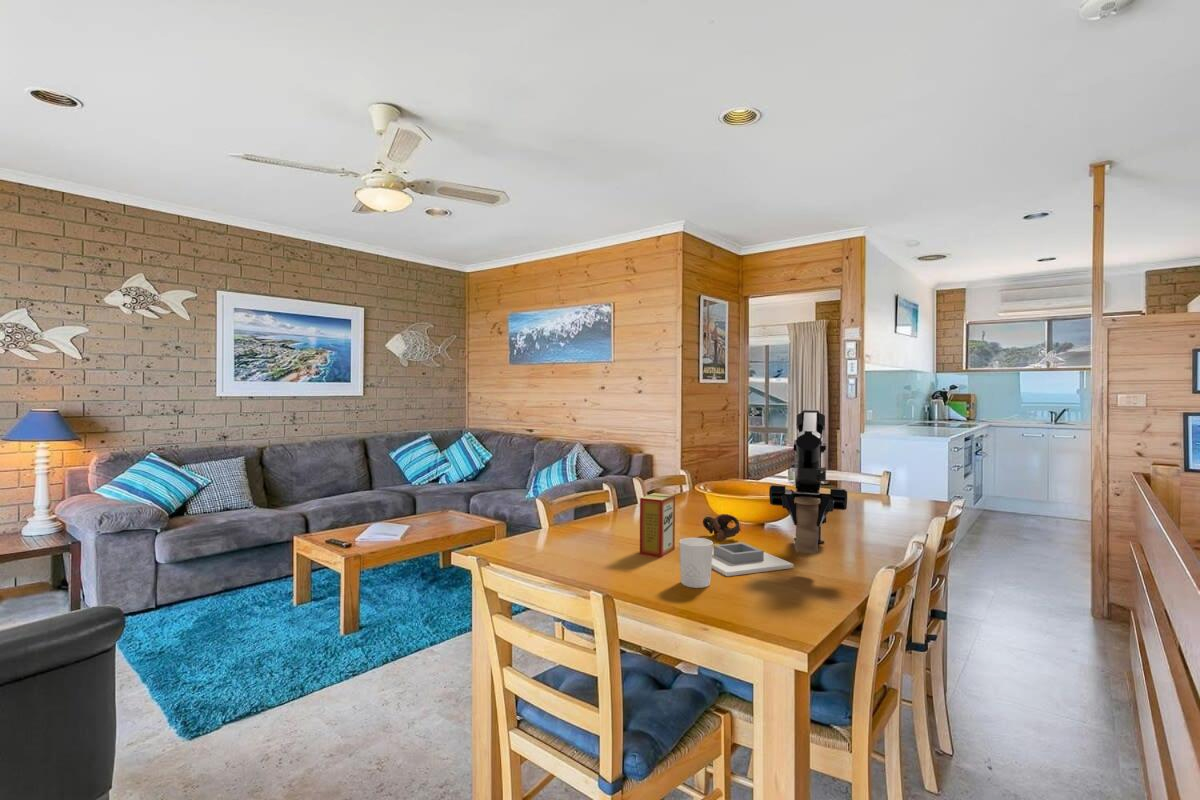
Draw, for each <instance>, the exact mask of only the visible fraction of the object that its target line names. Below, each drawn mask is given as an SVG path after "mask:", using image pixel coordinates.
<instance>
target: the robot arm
mask: <svg viewBox="0 0 1200 800" xmlns="http://www.w3.org/2000/svg"><path fill="white" fill-rule="evenodd" d="M796 430H797V431H798V432H797V435H796V439H794V441H793V452H794V453H796V458H797V460H796V477H795V490H793V489H789V488H786V485H779V484H771V485H770V486H769V491H768V494H769V505H771V506H780V507H782V508H783V509H786V511H787V512H788V514H789V515H790V518H791V521H792V523H793V526H796V503H795V497H800V496H806V497H815V498H819V499H820V504H818V544H824V543H825V540H822V537H821V536H822V535H821V534H822V532H821V531H822V525H824V524H826V523H827V515H828V514H829V513H830V512H831V513H832V512H834V510H837V511H845V510H847V509H848V508H847V507H848V506H847V505H848V491H847V490H846V489H845V488H836V487H835V488H832V487H831V488H830V490H829V491H830V492H829V493H821V492H820V490H821V487H820V486H821V484H820V483H821V482H826V479H827V470H826V469H827V467H821V466H820V465H821V464H820V458H821V457H822V455H821V454H824V453H825V451H826V450H827V445H826V443H825V441H824V440H822V439H823V431H825V430H826V415H825V414H822V413H821V412H820V410H818V409H807V408H806V409H801V412H800V413H798V414H797V415H796ZM793 541H796V537H794V538H793Z"/></svg>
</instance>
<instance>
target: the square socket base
mask: <svg viewBox="0 0 1200 800" xmlns="http://www.w3.org/2000/svg"><path fill="white" fill-rule="evenodd" d="M788 569H794V563H792V562H790V561H788V560H785V559H782V558H780V557H777V556H775V555H772V554H770V553H767V552H766V551H764V550H762V549H760V548H757V547H755V546H752V545H750V544H748V543H745V542H744V541H743V542H735V543H725V544H713V552H712V568H711V570H714V571H716V572H717V573H719V574H721V575H723V576H725V577H732V576H733V577H734V576H741V575H747V574H748V575H749V574H758V573H764V572H772V571H779V570H788Z"/></svg>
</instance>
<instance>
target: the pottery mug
mask: <svg viewBox="0 0 1200 800" xmlns="http://www.w3.org/2000/svg"><path fill="white" fill-rule="evenodd" d="M732 521H733V522H734V523H735V526H733V527H730V526H729V523H731V522H732ZM702 524H703V527H704V528H705V529H706V530H707V531H708V532H709V534H710V535H712V534H713V535H717V536H716V539H717V540H718V541H719V542H722V541H723V540H724V539H729V538H733V537H735V536H736V535H738V534H739V532H741V531H742V530H741V526H740V522H739V520H738V518H737V517H735V516H734V515H731V514H727V513H721V514H718V515H716V517H711V516H706V517H704V518H703V519H702Z"/></svg>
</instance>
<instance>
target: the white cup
mask: <svg viewBox="0 0 1200 800" xmlns="http://www.w3.org/2000/svg"><path fill="white" fill-rule="evenodd" d="M678 543H679V548H678V549H679V567H680V579H681V580H680V581H681V582H680V583H681V584H682V585H683V586H685V587H687V588H694V589H702V588H708V587H709V586H711V585H710V584H711V574H712V552H713V549H714V542H713V541H712V540H711V539H708V538H703V537H684V538H681V539H679V541H678Z"/></svg>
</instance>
